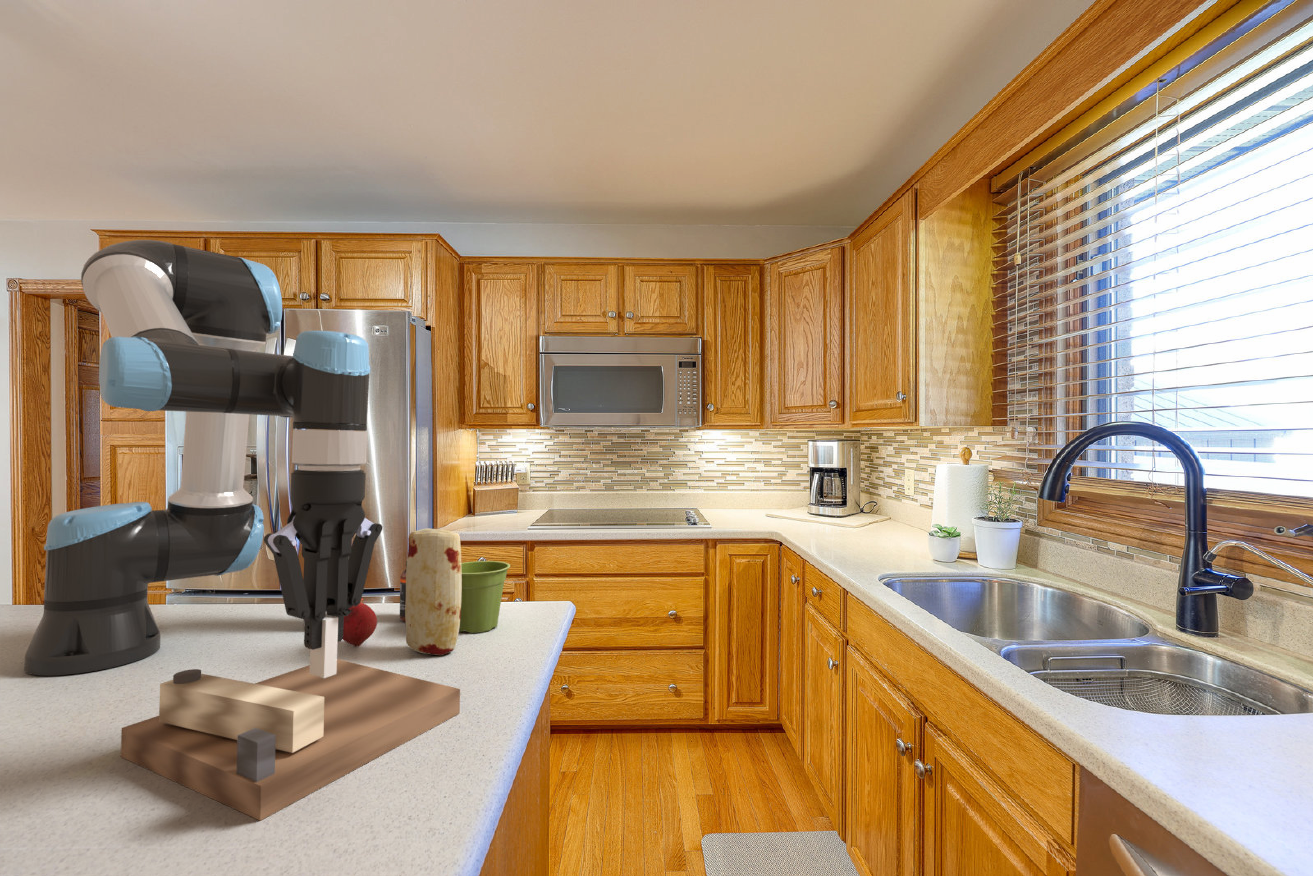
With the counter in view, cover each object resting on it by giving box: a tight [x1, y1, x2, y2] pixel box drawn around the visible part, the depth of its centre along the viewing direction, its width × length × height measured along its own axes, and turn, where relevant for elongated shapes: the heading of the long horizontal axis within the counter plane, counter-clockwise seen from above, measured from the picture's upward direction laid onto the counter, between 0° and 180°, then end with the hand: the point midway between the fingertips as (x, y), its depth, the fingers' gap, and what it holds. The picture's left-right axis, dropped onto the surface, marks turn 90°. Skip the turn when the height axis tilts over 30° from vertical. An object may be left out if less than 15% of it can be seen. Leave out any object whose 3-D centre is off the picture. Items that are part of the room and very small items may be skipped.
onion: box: [342, 597, 378, 648], centre depth 98 cm, size 6×6×8 cm
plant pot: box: [459, 560, 511, 634], centre depth 109 cm, size 12×12×11 cm
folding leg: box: [158, 668, 324, 753], centre depth 62 cm, size 19×4×5 cm, turn 71°
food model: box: [405, 527, 462, 656], centre depth 96 cm, size 10×7×20 cm
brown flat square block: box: [120, 658, 461, 821], centre depth 68 cm, size 24×24×6 cm
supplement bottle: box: [399, 560, 407, 623], centre depth 114 cm, size 6×6×11 cm
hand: (322, 673), depth 68 cm, fingers closed
